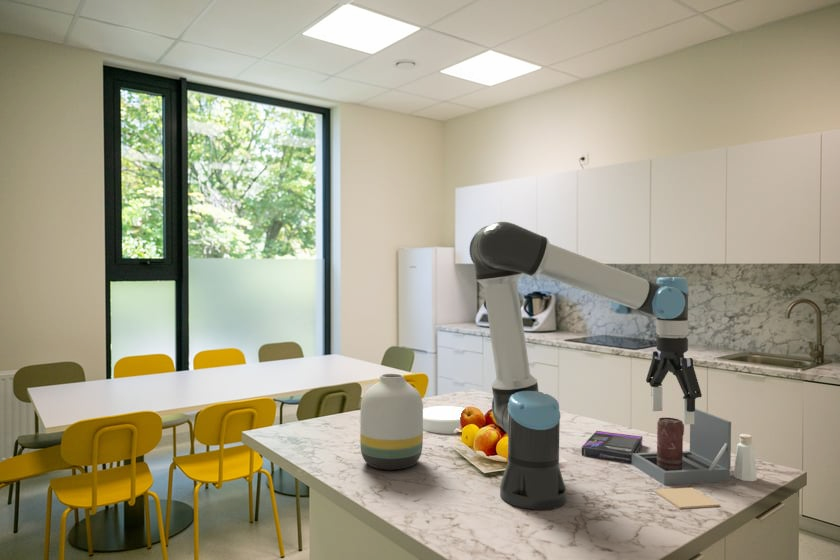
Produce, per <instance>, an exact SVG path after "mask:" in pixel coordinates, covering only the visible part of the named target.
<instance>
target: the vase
mask: <svg viewBox="0 0 840 560" xmlns="http://www.w3.org/2000/svg"><path fill="white" fill-rule="evenodd" d="M405 379H406V378H405V376H404V374H401V373H384V374H381V375H380V376H379V380H378V381H377V382H375V383H374V384H373V385H372V386H370V387H368V389H367V390H366V391H365V392H364V394H363V396H362V397H361V402H360V417H359V418H360V421H359V422H360V423H359V424H360V425H359V426H360V427H359V428H360V430H359V431H360V432H359V435H360V437H359V438H360V441H359V444H360V453H361V456H362V458H363V461H364V462H365V463H366V464H367V465H369V466H370V467H373V468H376V469H379V470H389V471H390V470H391V471H393V470H394V471H395V470H402V469H407V468H409V467H411V466H413V465H415V464H416V463H417V462H418V461H419V459H420V458H421V456H422V452H423V446H424V445H423V443H424V442H423V441H424V438H423V437H424V436H423V435H424V430H423V409H424V404H423V399H422V396H421V393H420V392H419V391H418V390H417V388H416V387H414V386H412V385H411V384H410V383H409V382H407V380H405Z"/></svg>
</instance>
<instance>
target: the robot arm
mask: <svg viewBox="0 0 840 560" xmlns="http://www.w3.org/2000/svg"><path fill="white" fill-rule="evenodd" d="M468 247H469V257H470V260H471V262H472V263H473V264H474V272H475V277H476V282H478V283H479V284H480V285H481V286H482V287H483V291H484V292H483V293H484V298H485V299H484V300H485V306H486V307H485V308H486V313H487V320H488V327H489V334H490V341H491V346H492V347H491V348H492V354H493V355H492V356H493V363H494V369H495V376H496V378H495V380H494V381H493V382H492V384H491V389H492V401H491V411H492V415H493V418H494V420H495V422H496V423H497V424H498V425H499V427H501V428H502V430H503V431H504V432H505V433H506V434H507V436H508V437H507V464H506V467H505V470H504V472H503V474H502V475H503V476H502V477H501V481H500V485H499V496H500V498H501V499H502V500H503V501H504V502H506V503H507V504H510V505H512V506H515V507H518V508H521V509H528V510H538V511H539V510H540V511H542V510H553V509H557V508H560V507H562V506H564V505H565V503H566V502H567V487H566V485H565V481H564V477H563V475H562V471H561V468H560V425H561V423H560V420H561V410H560V404H559V403H560V402H558V400H557V399H556V398H555V397H554V396H553V395H550V394H548V393H544V392H541V391H540V389H539V384H538V379H537V378H536V377H534V376H533V375H532V374H531V372H530V365H529V358H528V357H529V356H528V350H527V343H526V342H527V341H526V336H525V329H524V321H523V316H522V314H523V313H522V307H521V300H520V292H519V288H518V287H519V286H518V281H519V279H520V278H521V277H522V276H523V274H524V275H528V276H529V277H534V276H535V275H536V276H537V275H540V276H542V277H545V278H548V279H551V280H552V281H553V280H554V281H556V282H559V283H562V284H565V285H566V286H570V287H573V288H576V289H579V290H580V291H581V290H582V291H583V292H586V293H589V294H591V295H594V296H597V297H600V298H602V299H606V300H607V301H610V307H611V309H612V310H613V312H614V313H615V314H618V315H640V316H645V317H653V318H656V324H655V325H656V328H655V330H656V331H655V333H656V334H657V335H658V336H657V337H656V350H655V351H652V359H651V362H650V365H649V370H648V373H647V375H646V380H645V382H646V383H649V386H650V387H651V389H650V390H651V392H650V393H651V395H650V396H651V411H652V412H661V411H662V412H663V384H662V383H663V382H664V379H665V378H666V377H667V375H668V373H672V375H674V376H675V377H676V380H677V382H678V384H679V387H680V389H681V391H682V393H683V397H682V421H683V424H684V426H685V425H690V424H694V412H695V409H696V399H697V398H701V397H702V395H703V394H702V391H701V388H700V384H699V381H698V378H697V374H696V371H695V368H694V359H693V358H692V357H685V355H684V354H685V353H686V352H688V351H689V339H688V337H686V336H688V335H689V333H688V332H689V331H688V330H689V328H688V325H689V324H688V323H689V322H688V321H689V286H688V279H687V278H685V277H682V276H681V277H679V276H677V277H674V276H673V277H672V276H671V277H669V276H668V277H664V276H663V277H658V278H656V282H653V281H651V280H648V279H645V278H642V277H640V276H637V275H634V274H632V273H629V272H627V271H623V270H621V269H618V268H616V267H613V266H612V265H611V266H610V265H608V264H605V263H602V262H601V261H597V260H595V259H592V258H589V257H586V256H584V255H581V254H580V253H579V254H578V253H576V252H574V251H570V250H568V249H565V248H563V247H561V246H557V245H554V244H552V243H550V241H549V239H548V238H547V237H546V236H543V235H540V234H539V233H535V232H534V231H531V230H529V229H527V228H525V227H523V226H519V225H517V224H515V223H512V222H507V221H498V222H494V223H492V224H489V225H485V226H483V227H481V228H480V229H478V231H476V233H474V235H473V236H472V238H471V240H470V243H469V246H468Z"/></svg>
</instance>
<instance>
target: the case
mask: <svg viewBox="0 0 840 560" xmlns="http://www.w3.org/2000/svg"><path fill="white" fill-rule="evenodd" d="M731 451H732V421H730V420H728V419H724V418H721V417H720V416H717V415H714V414H711V413H709V412H705V411H702V410H701V409H698V408H695V412H694V424H689V450H683V459H682V470H673V471H665V470H664V469H662V468H660V467H658V466H657V451H654V452H638V453H632V464H631V465H632V466H633V467H635V468H637V469H638V470H640V471H641V472H642V473H645V474H646V475H648V476H649V477H651V478H653V479H654V480H656V481H657V482H659V483H661V484H662V485H664V486H666V485H667V486H668V485H684V484H686V485H687V484H704V483H719V482H720V483H721V482H730V478H731V477H730V476H731V475H730V474H731V473H730V471H731V461H732V460H731V458H732V456H731V455H732V452H731Z"/></svg>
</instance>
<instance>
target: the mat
mask: <svg viewBox="0 0 840 560" xmlns="http://www.w3.org/2000/svg"><path fill="white" fill-rule="evenodd" d="M653 492H654V493H655V494H657V495H659V497H661V498H663V499H664V500H665V501H667V502H669V503H670V504H672V505H673V506H675V507H677V508H678V509H679V510H680V509H682V510H684V509H697V508H698V509H700V508H709V507H712V508H715V507H721V504H720V503H718V502H717V501H715V500H714V499H712V498H710V497H709V496H707V495H705V494H704V493H702V492H700V491H698V490H697V489H695V488H693V487H679V488H677V487H675V488H662V489H660V488H659V489H653Z"/></svg>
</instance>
